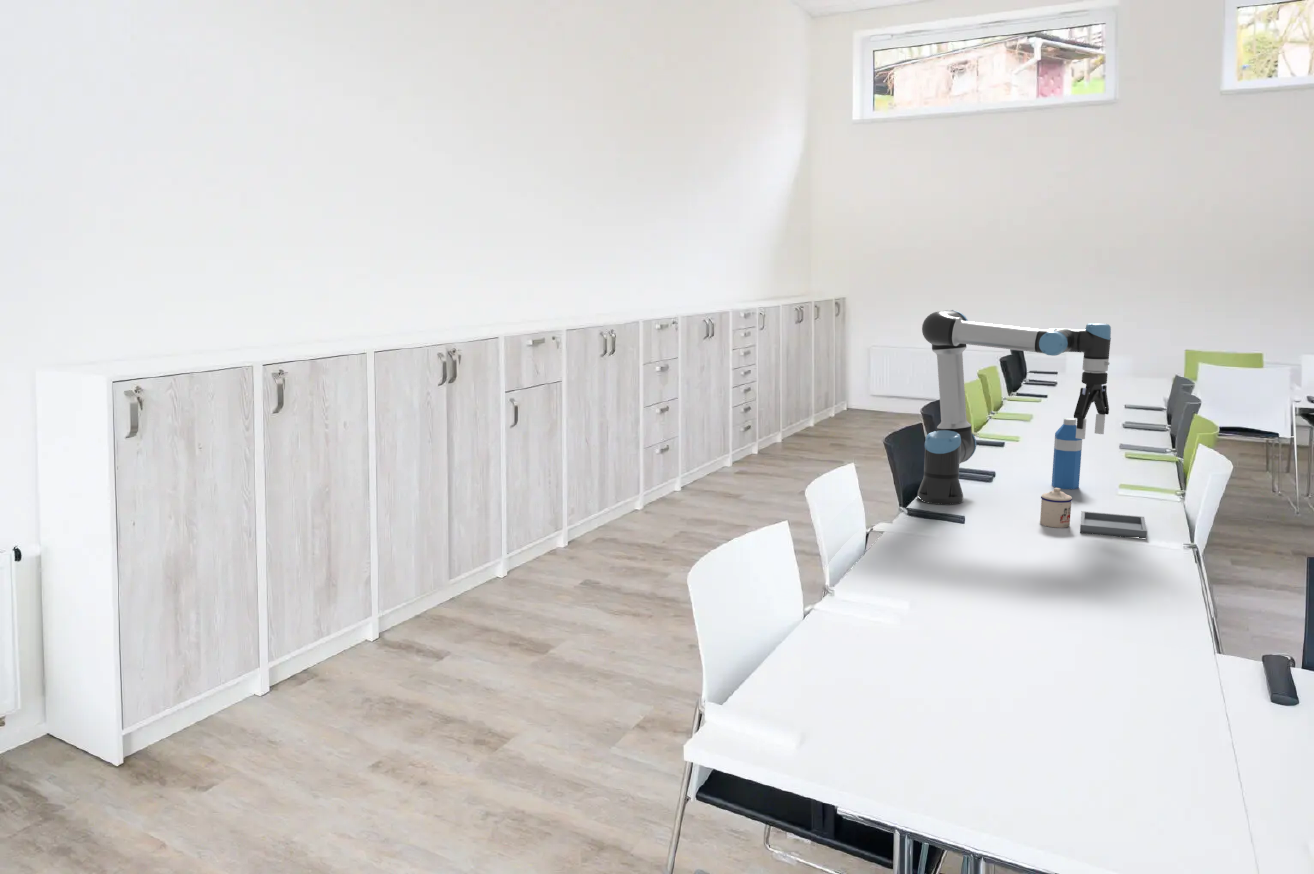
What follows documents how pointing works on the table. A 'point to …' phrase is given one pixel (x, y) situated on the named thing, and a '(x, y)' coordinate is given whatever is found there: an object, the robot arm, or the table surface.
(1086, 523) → the tray
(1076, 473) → the water bottle
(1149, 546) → the table surface
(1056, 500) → the teacup with lid
